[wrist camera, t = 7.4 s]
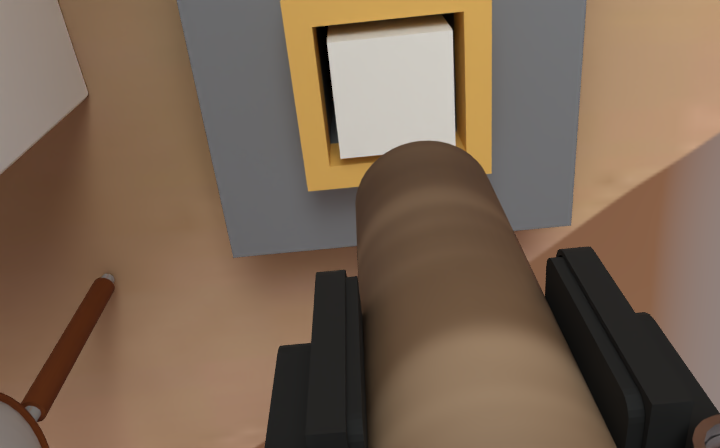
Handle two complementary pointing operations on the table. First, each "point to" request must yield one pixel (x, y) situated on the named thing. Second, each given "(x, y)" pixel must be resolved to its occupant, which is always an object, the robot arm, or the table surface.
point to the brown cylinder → (458, 316)
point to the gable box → (34, 75)
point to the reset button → (392, 83)
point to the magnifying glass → (52, 373)
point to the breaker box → (318, 120)
